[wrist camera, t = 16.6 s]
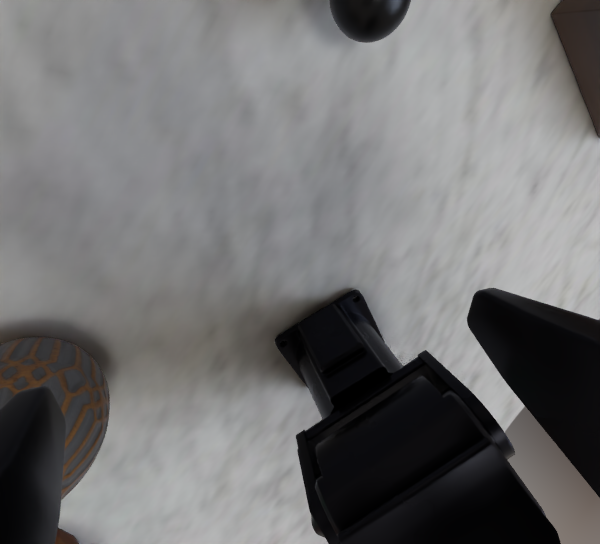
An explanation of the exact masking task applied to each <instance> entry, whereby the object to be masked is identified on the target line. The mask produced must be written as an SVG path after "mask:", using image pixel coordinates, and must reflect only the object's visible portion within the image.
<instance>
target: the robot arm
mask: <svg viewBox="0 0 600 544" xmlns="http://www.w3.org/2000/svg"><path fill="white" fill-rule="evenodd" d="M356 296H357V297H356ZM354 297H356V298H355V299H353V298H354ZM467 323H468V326H469V328H470V330H471V331H472V333H473V334H474V336H475V337H476V339H477V340H478V342H479V343H480V345H481V346H482V348H483V349H484V351H485V352H486V354H487V355H488V357H489V358H490V360H491V361H492V363H493V364H494V366H495V367H496V369H497V370H498V371H499V373H500V374H501V376H502V377H503V379H504V380H505V381H506V383H507V384H508V385H509V386H510V388H511V389H512V390H513V392H514V393H515V394H516V395H517V396H518V398H519V399H520V400H521V401H522V403H523V404H524V405H525V406H526V407H527V409H528V410H529V411H530V412H531V414H532V415H533V416H534V417H535V419H536V420H537V421H538V422H539V424H540V425H541V426H542V427H543V428H544V430H545V431H546V432H547V433H548V435H549V436H550V437H551V438H552V439H553V441H554V442H555V443H556V444H557V446H558V447H559V448H560V449H561V451H562V452H563V453H564V454H565V456H566V457H567V458H568V459H569V460H570V461H571V463H572V464H573V465H574V466H575V468H576V469H577V470H578V472H579V473H580V474H581V475H582V476H583V478H584V479H585V480H586V481H587V483H588V484H589V485H590V486H591V488H592V489H593V490H594V491H595V492H596V494H597V495H598V496H599V497H600V320H596V319H593V318H590V317H587V316H583V315H580V314H577V313H574V312H570V311H567V310H564V309H561V308H557V307H554V306H551V305H548V304H544V303H541V302H538V301H535V300H532V299H528V298H525V297H522V296H519V295H515V294H512V293H509V292H506V291H502V290H499V289H496V288H488V289H483V290H479V291H477V292H476V293H475V294H474V296H473V300H472V303H471V306H470V310H469V313H468V317H467ZM282 341H284V342H283V343H281V342H282ZM275 344H276V346H277V348H278V349H279V351H280V352H281V353H282V355H283V356H284V357H285V359H286V360H287V361H288V362H289V364H290V365H291V366H292V368H293V369H294V370H295V372H296V373H297V374H298V375H299V377H300V378H301V379H302V381H303V382H304V383H305V385H306V386H307V387H308V388H309V390H310V392H311V394H312V397H313V399H314V401H315V403H316V405H317V408H318V410H319V412H320V414H321V416H322V419H323V420H321V421H320V422H318V423H317V424H315V425H314V426H312V427H311V428H309V429H308V430H306V431H305V430H303V431H302V432H300V433H299V434H297V435H296V439H297V444H298V456H299V460H300V465H301V470H302V475H303V480H304V485H305V490H306V495H307V500H308V505H309V509H310V513H311V520H312V526H313V528H314V530H315V532H316V533H317V534H318V535H320V536H323V537H325V538H326V540H327V542H328V543H329V544H561V543H560V540H559V536H558V533H557V531H556V530H555V528H554V527H553V525H552V524H551V523H550V522H549V520H548V519H547V518H546V516H545V513H544V511H543V509H542V508H541V506H540V505H539V504H538V502H537V501H536V499H535V498H534V497H533V495H532V494H531V493H530V491H529V490H528V488H527V487H526V486H525V484H524V483H523V481H522V480H521V479H520V477H519V476H518V475H517V473H516V472H515V470H514V469H513V468H512V466H511V465H510V463H509V462H508V461H507V459H509V458H510V457H512V456H513V455H515V451H514V448H513V446H512V444H511V442H510V441H509V439H508V437H507V436H506V434H505V433H504V431H503V430H502V428H501V427H500V426H499V424H498V423H497V421H496V420H495V419H494V418H493V416H492V415H491V414H490V412H489V411H488V410H487V409H486V408H485V406H484V405H483V404H482V403H481V402H480V401H479V400H478V399H477V397H476V396H475V395H474V394H473V393H472V392H471V391H470V390H469V389H468V388H467V387H466V386H464V385H463V384H462V383H461V382H460V381H459V380H458V379H457V378H456V377H455V376H454V375H452V374H451V373H450V372H449V371H448V370H447V369H446V368H445V367H444V366H443V365H442V364H441V363H439V362H438V361H437V360H436V359H435V358H434V357H433V356H432V355H431V354H430V353H429V352H427V351H426V350H425V351H423V352H422V353H420V354H418V357H417V358H415V359H414V360H412V361H411V362H409V363H408V364H406V365H405V366H402V364H401V363H400V362H399V361H398V359H397V358H396V357H395V355H394V354H393V353H392V352H391V350H390V349H389V348H388V346H387V345H386V344H385V342H384V340H383V338H382V336H381V334H380V331H379V329H378V327H377V325H376V323H375V321H374V319H373V317H372V314H371V312H370V310H369V308H368V306H367V304H366V302H365V300H364V297H363V295H362V294H361V293H360V292H359V291H358V290H352V291H350V292H349V293H347V294H345V295H344V296H342V297H340V298H339V299H337V300H335V301H334V302H332V303H331V304H329V305H327V306H326V307H324V308H322V309H321V310H319V311H317V312H316V313H314V314H313V315H311V316H309V317H308V318H306V319H304V320H303V321H301V322H299V323H298V324H296V325H295V326H293V327H291V328H290V329H288V330H286V331H285V332H283V333H281V334H280V335H278V336H277V337H276V339H275ZM65 438H66V421H65V417H64V414H63V412H62V410H61V408H60V406H59V404H58V402H57V400H56V398H55V396H54V394H53V392H52V391H51V389H50V388H49V387H47V386H40V387H35V388H31V389H26V390H22V391H20V392H18V393H17V394H16V395H14V396H13V397H12V398H11V399H10V400H9V401H8V402H7V403H6V404H5V405H4V406H3V407H2V408H1V409H0V544H55V540H56V535H57V529H58V523H59V516H60V506H61V494H62V480H63V466H64V452H65Z"/></svg>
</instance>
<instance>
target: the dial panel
mask: <svg viewBox="0 0 600 544" xmlns="http://www.w3.org/2000/svg"><path fill="white" fill-rule="evenodd" d="M551 15H552V18H553V20H554V23H555V25H556V28H557V31H558V33H559V36H560V38H561V41H562V43H563V46H564V49H565V51H566V54H567V56H568V59H569V61H570V64H571V67H572V69H573V72H574V74H575V77H576V79H577V82H578V84H579V87H580V90H581V92H582V95H583V97H584V100H585V102H586V105H587V108H588V110H589V113H590V115H591V118H592V120H593V123H594V126H595V128H596V131H597V133H598V136H599V138H600V0H563V1H562V2H561V3H560V4H559V5H558V6H557V7H556V9H555V10H554V11H553V12H552V13H551Z"/></svg>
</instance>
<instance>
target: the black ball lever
mask: <svg viewBox="0 0 600 544" xmlns="http://www.w3.org/2000/svg"><path fill="white" fill-rule="evenodd" d="M410 2H411V0H330V8H331V12H332V15H333V18H334V21H335V22H336V24H337V26H338V27H339V29H340V30H341V31H342V32H343V33H344V34H345V35H346V36H348V37H349V38H351V39H353V40H355V41H358V42H366V43H368V42H375V41H378V40H381V39H383V38H385V37H386V36H388V35H389V34H391V33H392V32H393V31H394V30H395V29H396V28H397V27H398V26H399V25H400V23H401V22H402V20H403V19H404V17H405V15H406V13H407V11H408V8H409V5H410Z"/></svg>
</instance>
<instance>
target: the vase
mask: <svg viewBox="0 0 600 544" xmlns="http://www.w3.org/2000/svg"><path fill="white" fill-rule="evenodd" d="M40 386H47V387H49V388H50V389H51V391H52V392H53V394H54V396H55V398H56V400H57V402H58V404H59V406H60V408H61V410H62V412H63V414H64V417H65V421H66V438H65V452H64V466H63V480H62V494H61V500H62V499H63V498H64V497H65V496H66V495H67V494H68V493H69V492H70V491H71V490H72V489H73V488H74V487H75V486H76V485H77V484H78V483H79V482H80V480H81V479H82V478H83V477H84V475H85V474H86V473H87V471H88V470H89V468H90V467H91V465H92V463H93V461H94V460H95V458H96V456H97V454H98V452H99V450H100V447H101V445H102V443H103V440H104V437H105V434H106V431H107V426H108V420H109V409H110V397H109V390H108V385H107V382H106V379H105V376H104V374H103V372H102V370H101V368H100V367H99V365H98V363H97V362H96V361H95V360H94V358H93V357H92V356H90V355H89V354H88V353H87V352H85V351H84V350H83V349H81V348H80V347H78V346H76V345H74V344H72V343H69V342H66V341H63V340H59V339H54V338H47V337H29V338H22V339H17V340H13V341H9V342H5V343H2V344H0V409H1V408H2V407H3V406H4V405H5V404H6V403H7V402H8V401H9V400H10V399H11V398H12V397H13V396H14V395H16V394H17V393H18V392H20V391H22V390H26V389H31V388H35V387H40Z"/></svg>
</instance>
